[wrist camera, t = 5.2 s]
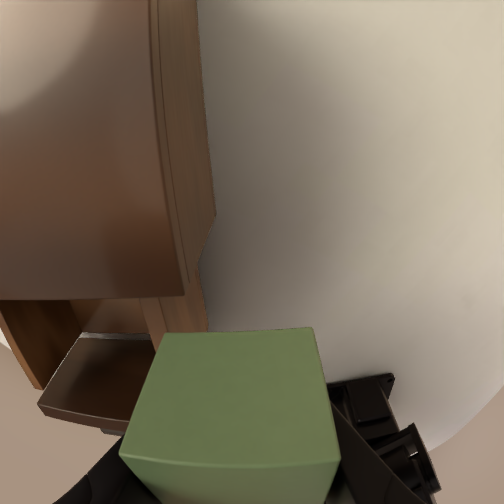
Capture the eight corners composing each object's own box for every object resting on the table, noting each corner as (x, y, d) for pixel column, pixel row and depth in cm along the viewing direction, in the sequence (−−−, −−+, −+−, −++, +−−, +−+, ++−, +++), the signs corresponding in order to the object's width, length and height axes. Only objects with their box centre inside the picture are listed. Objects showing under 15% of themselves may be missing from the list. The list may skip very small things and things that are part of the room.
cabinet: (216, 214, 17) (185, 297, 9) (45, 236, 18) (-41, 299, 9) (195, -19, 12) (156, -110, 3) (25, 42, 12) (-67, 27, 4)
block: (307, 415, 10) (319, 517, 6) (192, 417, 10) (173, 516, 6) (313, 325, 8) (342, 459, 4) (163, 331, 9) (116, 454, 5)
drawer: (232, 391, 22) (228, 472, 15) (103, 386, 22) (74, 451, 15) (194, 141, 15) (149, 150, 8) (30, 177, 15) (-51, 209, 8)
